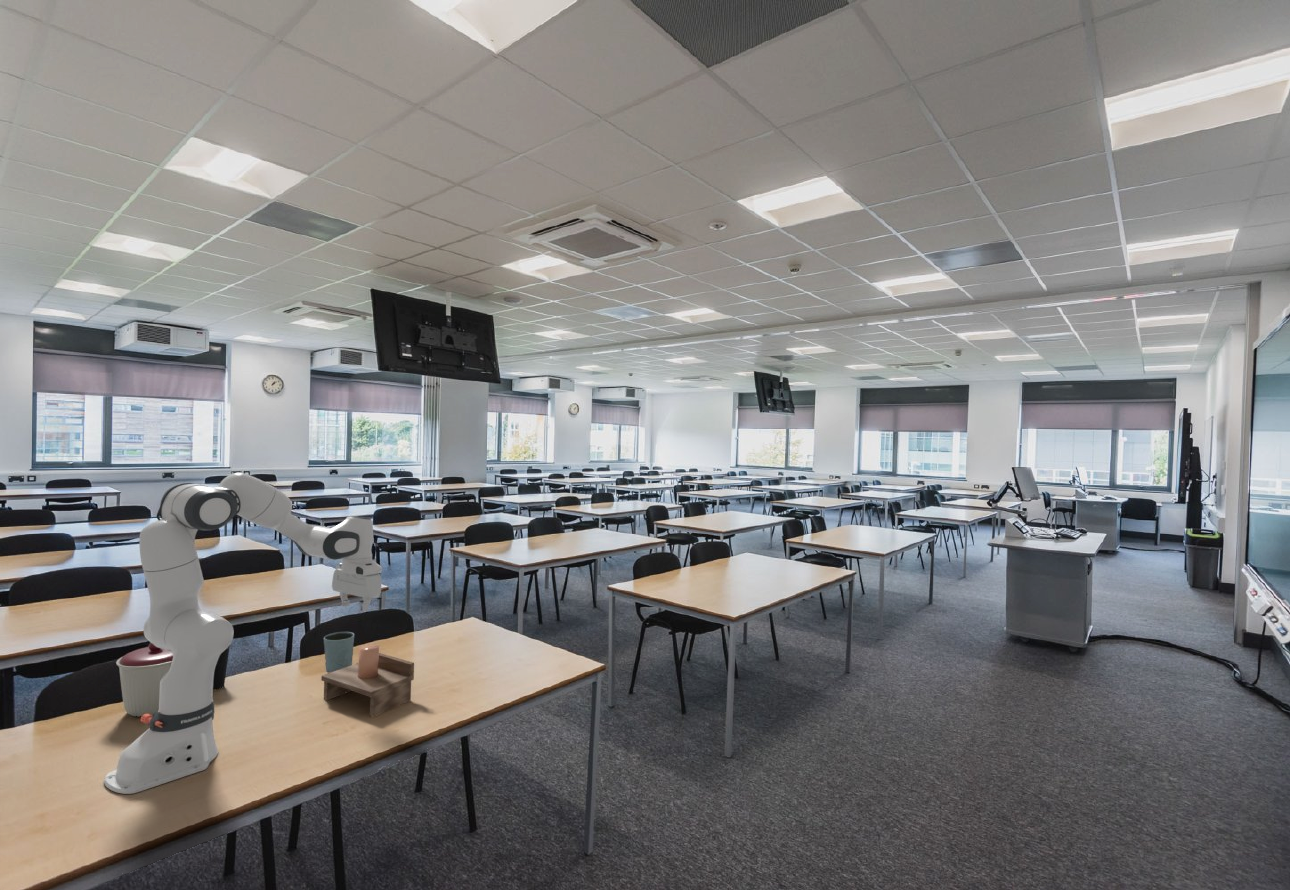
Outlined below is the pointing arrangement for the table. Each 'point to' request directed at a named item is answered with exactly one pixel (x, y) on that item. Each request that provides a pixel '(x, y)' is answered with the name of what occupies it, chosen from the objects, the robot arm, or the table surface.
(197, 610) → the robot arm
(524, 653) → the table surface
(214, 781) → the table surface
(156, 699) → the canister
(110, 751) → the table surface
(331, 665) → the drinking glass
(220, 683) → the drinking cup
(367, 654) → the pink pillar candle
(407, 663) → the shelf
